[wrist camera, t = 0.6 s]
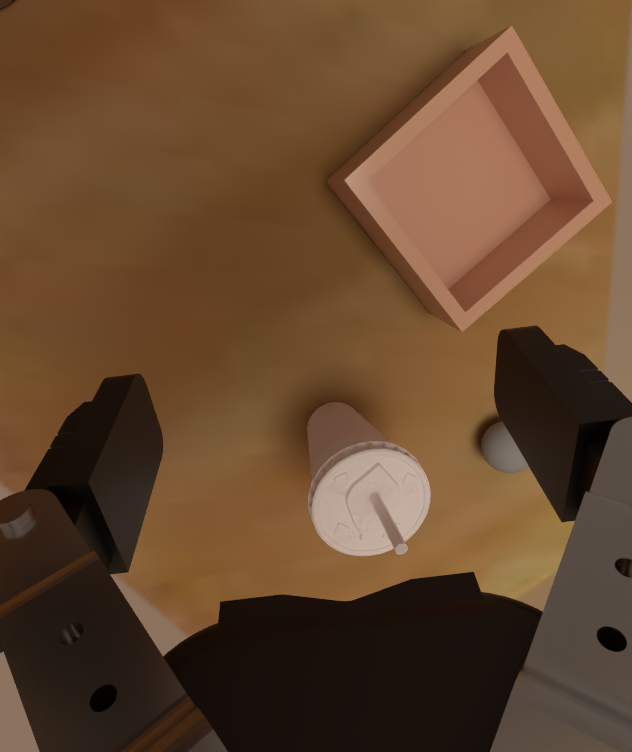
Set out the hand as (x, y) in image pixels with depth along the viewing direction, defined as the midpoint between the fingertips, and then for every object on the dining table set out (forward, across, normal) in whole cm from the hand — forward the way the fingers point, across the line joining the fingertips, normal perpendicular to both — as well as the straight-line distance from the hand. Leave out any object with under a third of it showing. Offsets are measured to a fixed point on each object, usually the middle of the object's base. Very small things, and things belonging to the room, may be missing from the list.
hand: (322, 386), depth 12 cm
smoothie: (+19, 0, +16) cm, 25 cm away
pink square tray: (+23, -9, +2) cm, 25 cm away
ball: (+20, -12, +19) cm, 30 cm away
